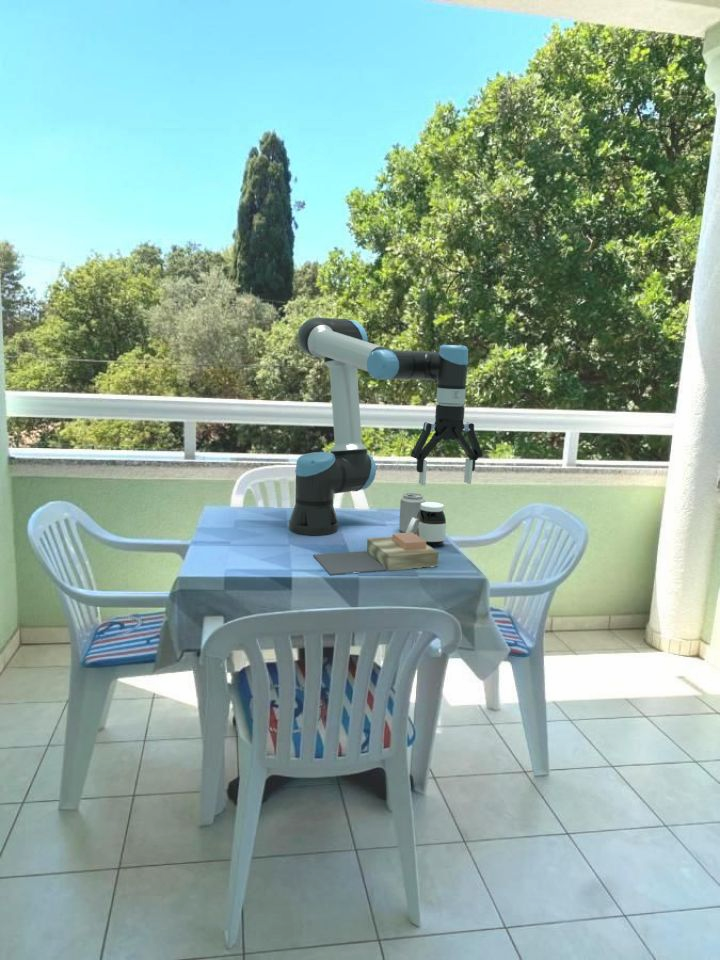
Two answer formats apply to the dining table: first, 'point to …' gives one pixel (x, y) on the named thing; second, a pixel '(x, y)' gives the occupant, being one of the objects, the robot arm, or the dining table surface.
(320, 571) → the dining table surface
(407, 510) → the can
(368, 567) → the mat
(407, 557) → the wooden block
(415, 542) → the light brown flat block
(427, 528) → the spread jar
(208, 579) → the dining table surface
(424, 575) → the dining table surface
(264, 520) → the dining table surface
